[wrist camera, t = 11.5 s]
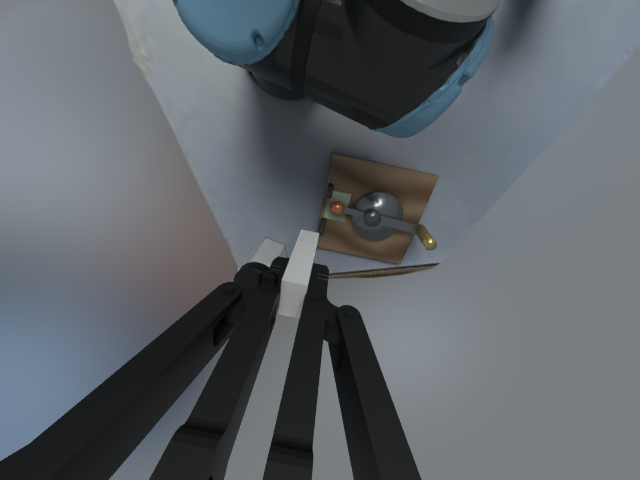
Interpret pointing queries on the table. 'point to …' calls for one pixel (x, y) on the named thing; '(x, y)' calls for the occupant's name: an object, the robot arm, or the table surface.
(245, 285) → the jar
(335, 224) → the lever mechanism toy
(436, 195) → the table surface
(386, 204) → the grey metal domed piece
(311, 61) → the robot arm
